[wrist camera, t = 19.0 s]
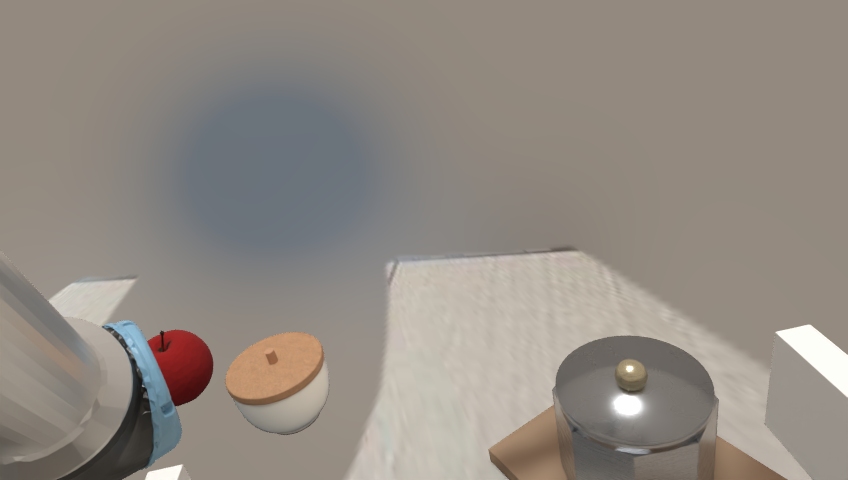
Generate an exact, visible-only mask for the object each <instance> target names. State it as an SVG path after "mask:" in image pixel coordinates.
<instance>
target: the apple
mask: <svg viewBox="0 0 848 480" xmlns="http://www.w3.org/2000/svg"><path fill="white" fill-rule="evenodd" d="M147 342H148V345H149V347H150V349H151V351H152V353H153V355H154V357H155V359H156V361H157V363H158V366H159V368H160V370H161V372H162V375H163V377H164V379H165V382H166V384H167V387H168V389H169V393H170V396H171V400H172V402H173V404H174V406H179V405H182V404H185V403H188V402H190V401H192V400H194V399H196V398H197V397H198V396H199V395H200V394H201V393H202V392H203V391H204V389H205V388H206V386H207V385H208V383H209V381H210V379H211V376H212V372H213V358H212V355H211V352H210V350H209V348H208V346H207V345H206V344H205V343H204V342H203V341H202V340H201V339H200V338H199V337H197V336H196V335H194V334H193V333H190V332H187V331H183V330H171V331H167V332H165V333H164V332H163V331H161V332H160V335H158V336H156V337H153V338H152V339H150V340H149V341H147Z"/></svg>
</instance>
